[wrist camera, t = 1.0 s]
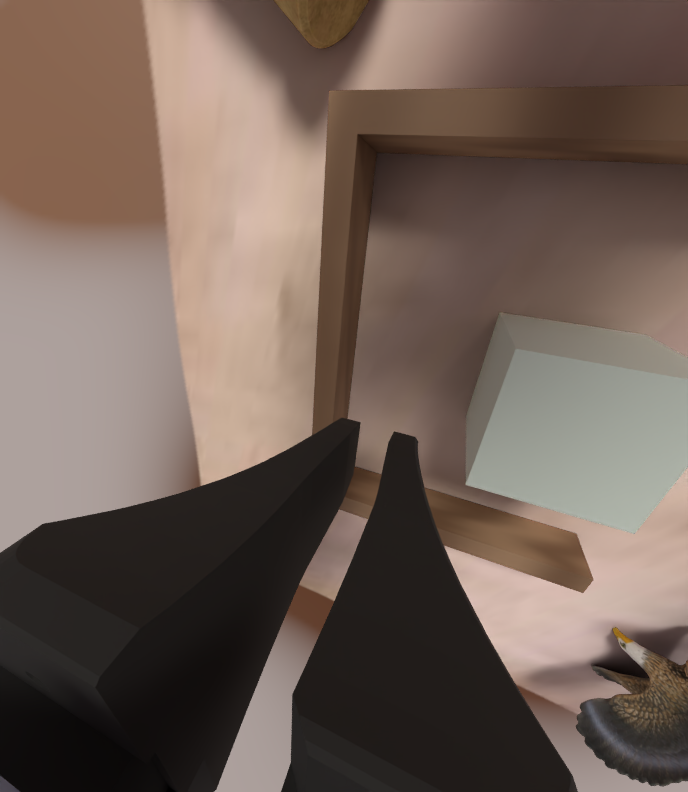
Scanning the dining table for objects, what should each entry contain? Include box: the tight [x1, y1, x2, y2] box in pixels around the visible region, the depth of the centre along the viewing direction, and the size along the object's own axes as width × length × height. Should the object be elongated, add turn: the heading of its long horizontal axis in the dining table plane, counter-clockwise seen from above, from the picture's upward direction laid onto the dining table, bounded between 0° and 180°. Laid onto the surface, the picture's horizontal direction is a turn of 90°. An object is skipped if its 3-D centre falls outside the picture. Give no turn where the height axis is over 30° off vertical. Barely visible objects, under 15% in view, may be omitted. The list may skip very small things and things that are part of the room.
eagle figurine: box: [576, 627, 688, 786], centre depth 18 cm, size 8×7×9 cm
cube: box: [466, 312, 688, 534], centre depth 13 cm, size 6×6×6 cm
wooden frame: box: [312, 85, 688, 593], centre depth 15 cm, size 16×20×3 cm
